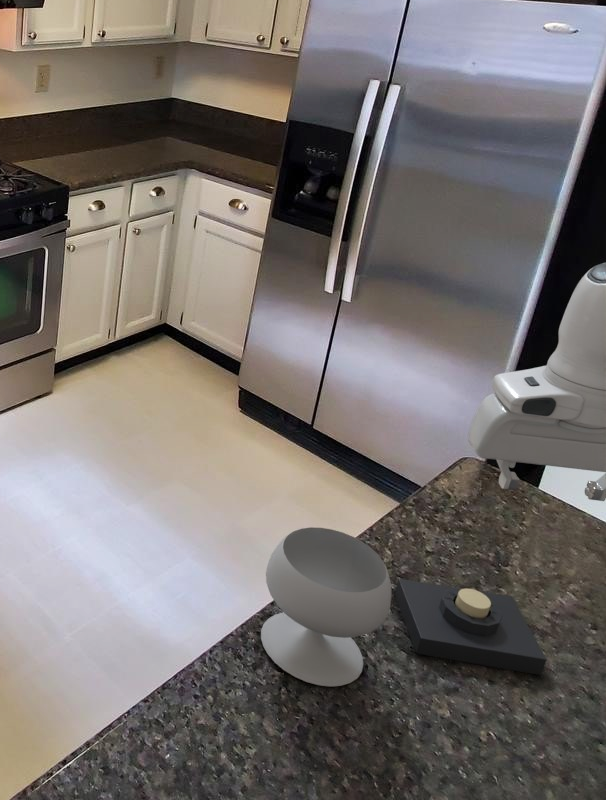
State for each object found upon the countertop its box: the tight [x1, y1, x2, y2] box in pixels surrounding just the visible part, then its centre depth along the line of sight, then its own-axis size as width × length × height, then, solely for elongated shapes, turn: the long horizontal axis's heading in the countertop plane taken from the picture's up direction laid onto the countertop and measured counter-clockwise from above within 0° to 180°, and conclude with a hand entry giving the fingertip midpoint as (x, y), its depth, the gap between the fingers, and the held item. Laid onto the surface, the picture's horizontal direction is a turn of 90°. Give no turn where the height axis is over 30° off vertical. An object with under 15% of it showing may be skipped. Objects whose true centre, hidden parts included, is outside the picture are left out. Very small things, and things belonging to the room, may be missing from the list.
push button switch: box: [455, 587, 491, 618], centre depth 103 cm, size 4×4×2 cm
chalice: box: [260, 526, 392, 687], centre depth 99 cm, size 14×14×15 cm
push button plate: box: [394, 578, 547, 676], centre depth 104 cm, size 14×11×4 cm
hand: (549, 492), depth 99 cm, fingers open, 8 cm apart
